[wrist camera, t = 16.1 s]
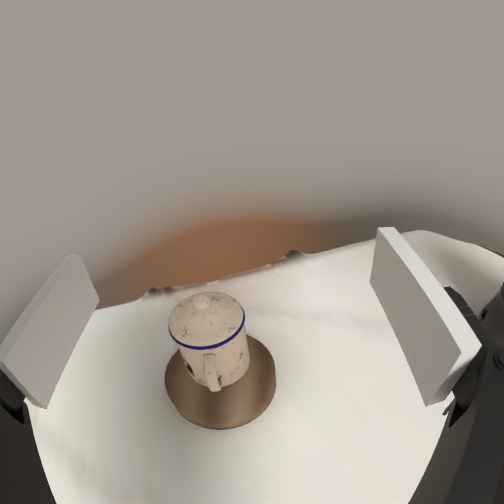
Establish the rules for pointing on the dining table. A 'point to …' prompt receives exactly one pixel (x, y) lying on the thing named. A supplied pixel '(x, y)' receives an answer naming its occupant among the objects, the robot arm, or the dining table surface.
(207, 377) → the teacup with lid
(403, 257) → the robot arm
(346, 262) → the dining table surface
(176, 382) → the brown round disc
